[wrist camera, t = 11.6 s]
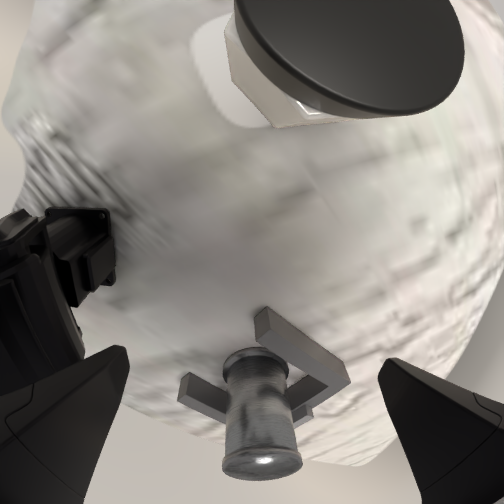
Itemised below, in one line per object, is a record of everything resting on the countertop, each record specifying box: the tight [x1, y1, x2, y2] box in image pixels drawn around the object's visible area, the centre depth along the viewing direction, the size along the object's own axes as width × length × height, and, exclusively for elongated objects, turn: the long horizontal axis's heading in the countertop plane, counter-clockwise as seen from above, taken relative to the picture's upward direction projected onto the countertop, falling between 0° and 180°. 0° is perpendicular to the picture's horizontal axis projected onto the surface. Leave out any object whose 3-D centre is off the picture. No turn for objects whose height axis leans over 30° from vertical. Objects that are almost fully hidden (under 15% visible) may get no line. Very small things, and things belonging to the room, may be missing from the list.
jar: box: [224, 0, 465, 129], centre depth 10 cm, size 9×8×12 cm
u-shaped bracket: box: [177, 307, 351, 429], centre depth 24 cm, size 11×13×4 cm
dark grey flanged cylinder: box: [222, 347, 303, 481], centre depth 21 cm, size 6×6×11 cm
